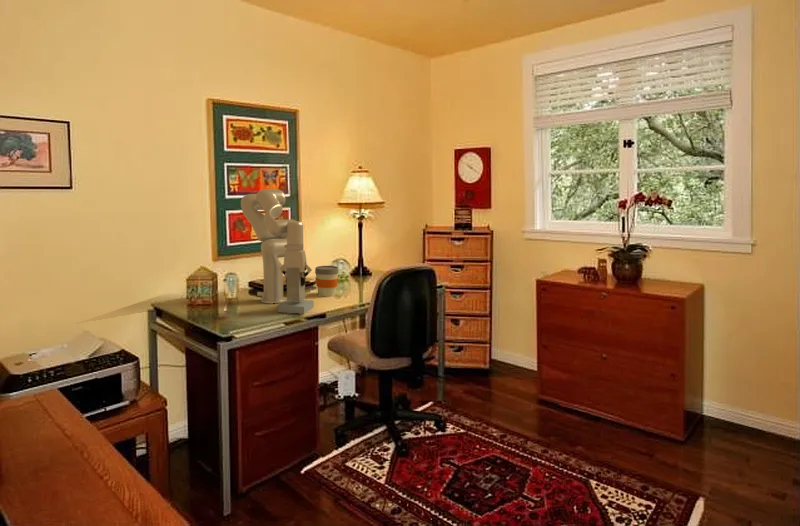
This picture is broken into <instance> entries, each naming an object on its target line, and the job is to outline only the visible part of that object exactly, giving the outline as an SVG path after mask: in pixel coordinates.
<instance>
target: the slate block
mask: <svg viewBox="0 0 800 526" xmlns="http://www.w3.org/2000/svg"><path fill="white" fill-rule="evenodd" d="M313 307H314V308H315V302H314V300H309V299H308V300H307V299H303V300H301V301H300V302H298V301H287V299H286V301H284V302H282V303H278V304H277V313H278V312H287V313H286V314H291V313H299V314H298V315H305V313H306V312H307V311H308V312H310V311H311V310H313V309H314V308H313ZM312 308H313V309H312ZM310 309H311V310H310ZM309 310H310V311H309ZM308 312H307V313H308ZM307 313H306V314H307Z"/></svg>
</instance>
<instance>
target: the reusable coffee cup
mask: <svg viewBox="0 0 800 526" xmlns="http://www.w3.org/2000/svg"><path fill="white" fill-rule="evenodd" d="M314 273H315V283H316V284H315V285H316V287H317V293H318V294H317V295H318V296H319V295H320V296H319V297H321V296H325V297H324V298H329V297H330V298H331V297H335V296H336V292H337V291H336V290H337V287H338V282H339V276H338V275H339V267H338V266H335V265H318V266H316V267H315V268H314Z"/></svg>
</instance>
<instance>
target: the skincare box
mask: <svg viewBox="0 0 800 526" xmlns="http://www.w3.org/2000/svg"><path fill="white" fill-rule="evenodd" d="M301 278H302V276H301V272H299V268H286V277H285V280H286V279H287V284H286V300H287V301H298V302H300V301H301V300H305V299H306V284H305V285H304V286H301Z"/></svg>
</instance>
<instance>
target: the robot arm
mask: <svg viewBox="0 0 800 526" xmlns="http://www.w3.org/2000/svg"><path fill="white" fill-rule="evenodd" d="M240 199H241V200H240V207H241V208H240V209H241V211H242V214H243V216H244V217H245V218H246V220H247V222H249V223H250V225H251V228H252V229H253V231H254V233H255V235H256V238H257V239H258V240H259V242H261V245H260V250H261V251H260V252H261V256H262V266H263V270H262V271H263V292H262V291H257V293H256V295H257V297H261V299H260V302H261V303H262V304H263V303H264V304H268V305H269V304H273V303H275V304H281V303H282V302H284V301H286V300H287V297H285V296H284V277H285V283H286V285H287V279H286V268H299V272H301V276H302V278H301V286H304V285H305V286H306V282H307V281H306V277H307V276H308V275H309V274H310V273H311V272H312V270H313V269H312V268H311V267H310V266H309V265H308V264H307V256H306V251H305V250H304V223H303V222H302V221H299V220H296V219H292V218H291V219H277V218H278V217H280V216H281V214H282V213H283V210H284V208H283V206H284V205H285V203H286V199H287V198H286V195H285V192H284V191H283V190H281V189H278V188H276V189H272V188H270V189H261V190H259V191H258V192H257V193H248V194H245V195H243V196H242V198H240ZM260 211H264V213H265V214H263V213H262V212H260ZM280 258H283V264H282V262H281V261H280Z"/></svg>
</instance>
